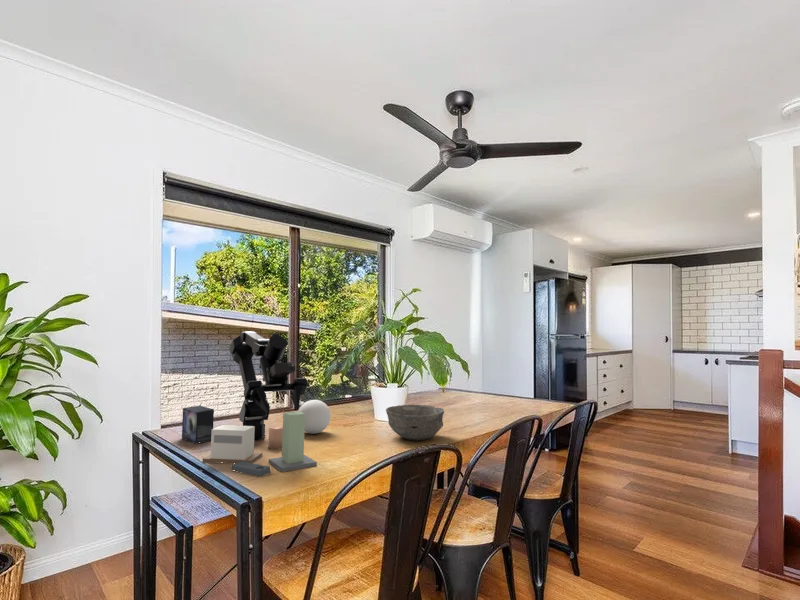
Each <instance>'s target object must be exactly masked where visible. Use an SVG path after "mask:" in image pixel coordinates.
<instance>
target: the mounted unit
mask: <svg viewBox="0 0 800 600" xmlns="http://www.w3.org/2000/svg"><path fill="white" fill-rule="evenodd" d="M254 431H255V426H243V425H232V424H230V425H229V424H221V425H219V426H217V427H213V429H212V432H211V441H210V454H209V455H207V456H205V457H203V458H202V463H209V462H223V463H222V464H230V463H238V462H241V461H244V462H249V463H254V462H256V461H258V460H259V459H261V458H262V457H263V452H255V441H254Z"/></svg>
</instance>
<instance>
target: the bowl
mask: <svg viewBox="0 0 800 600" xmlns="http://www.w3.org/2000/svg"><path fill="white" fill-rule="evenodd" d="M385 413H386V415H387V420H388V426H389V427H390V428H391V429H392V431H393V432H394V433H396V435H398V436H400V437H401V438H403V439H405V440H409V441H414V440H416V441H417V440H421V441H425V439H426V440H428V439H431V438H432V437H434V436H435V435H436V434H437V433H438V432H439V431H441V429H442V428H443V426H444V422H443V419H444V418H443V416H444V413H445V410H444V408H442V407H435V406H432V405H428V404H427V405H426V404H399V405H395V406H394V405H392V406H388V407H387V408H385ZM416 441H415V442H416Z"/></svg>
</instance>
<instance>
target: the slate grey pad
mask: <svg viewBox="0 0 800 600" xmlns="http://www.w3.org/2000/svg"><path fill="white" fill-rule="evenodd" d="M268 463H269V464H270V465H271V466H273V467H275V469H277V470H278V471H280V472H281V473H284V472H290V471H296V470H301V469H307V468H311V467H317V466H318V462H317V461H316V460H314V459H312V458H310V457H309V456H307V455H305V454H304V460H303V461H301V462H296V463H290V464H288V463H286V462H284V461H283V460H282V456H279V457H278V456H277V457H273V458H269V459H268Z"/></svg>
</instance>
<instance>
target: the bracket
mask: <svg viewBox="0 0 800 600" xmlns="http://www.w3.org/2000/svg"><path fill="white" fill-rule="evenodd" d="M230 470H235V471H234V472H236V471H238V472H237V473H240V472H242V473H241V474H245V473H246V474H245V475H249V476H255V477H259V478H260V477H263V476H266V475H268V474H271V466H268V465H263V464H259V463H254V462H253V463H249V462H244V461H241V462H238V463H235V464H231V469H230Z"/></svg>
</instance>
